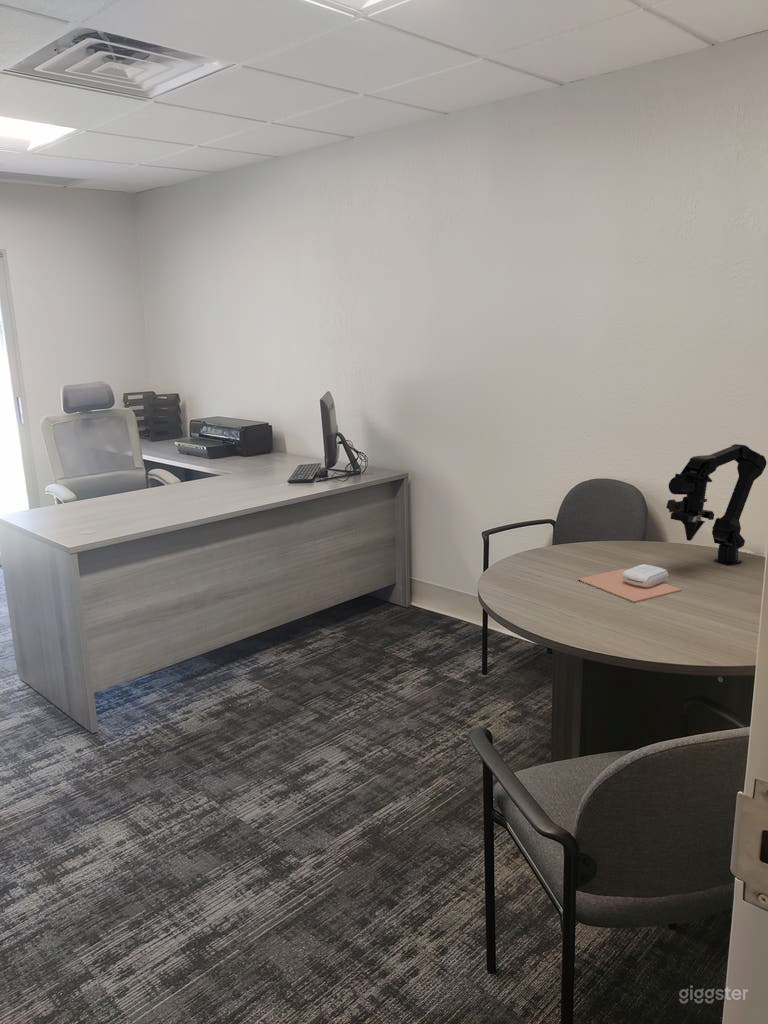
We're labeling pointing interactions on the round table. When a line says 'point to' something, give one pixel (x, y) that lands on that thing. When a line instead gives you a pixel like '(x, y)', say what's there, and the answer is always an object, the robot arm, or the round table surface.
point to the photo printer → (645, 575)
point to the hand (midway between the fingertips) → (688, 540)
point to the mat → (627, 587)
